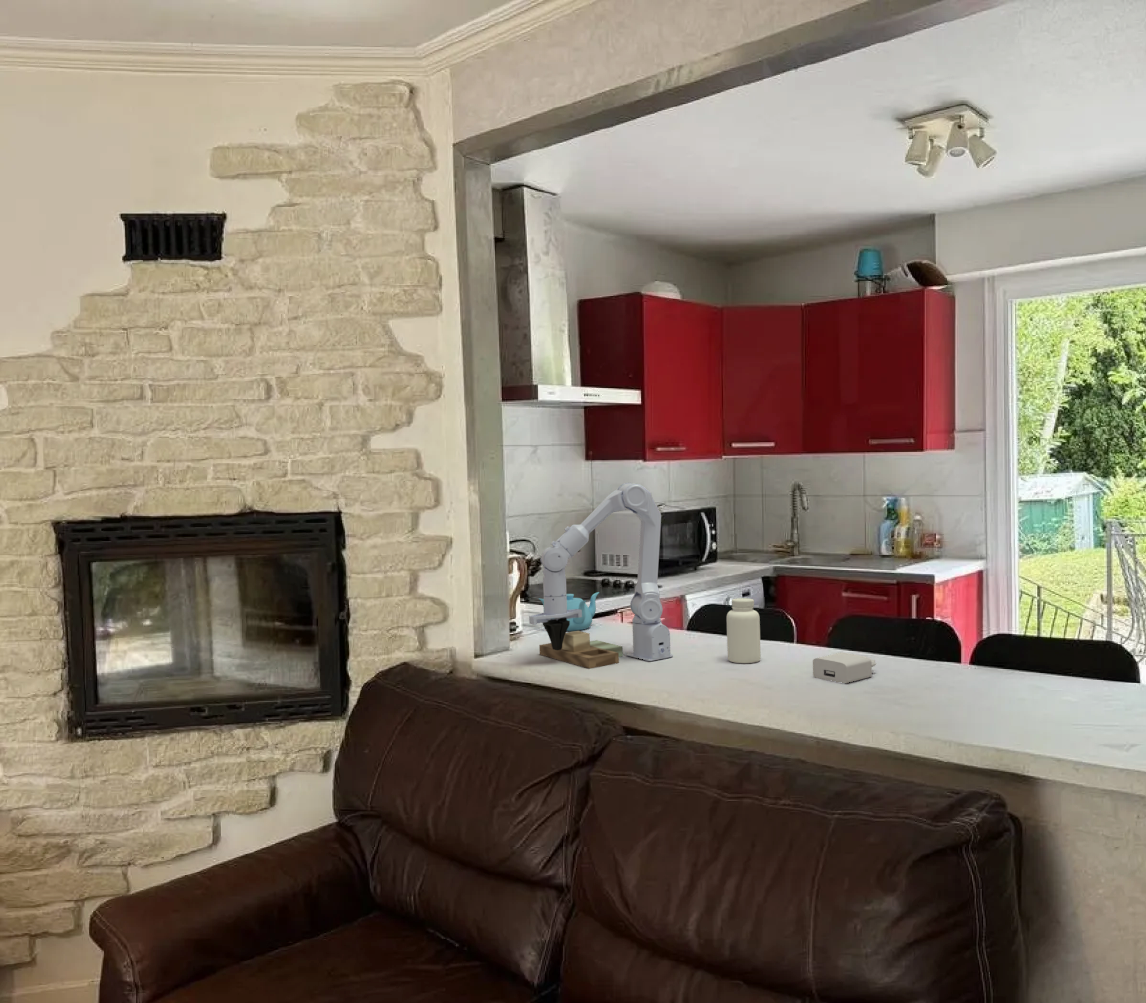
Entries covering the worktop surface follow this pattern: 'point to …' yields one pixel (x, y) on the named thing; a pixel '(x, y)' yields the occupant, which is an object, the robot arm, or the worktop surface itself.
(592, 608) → the teapot
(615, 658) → the tray
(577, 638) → the birch block
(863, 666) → the charger
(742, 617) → the pill bottle
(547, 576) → the robot arm
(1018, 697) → the worktop surface
